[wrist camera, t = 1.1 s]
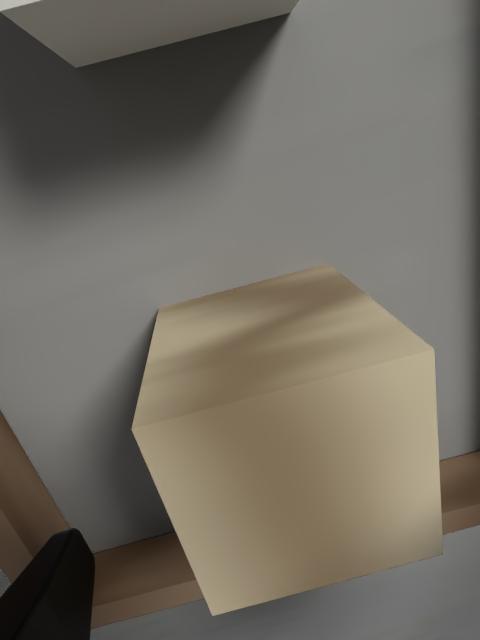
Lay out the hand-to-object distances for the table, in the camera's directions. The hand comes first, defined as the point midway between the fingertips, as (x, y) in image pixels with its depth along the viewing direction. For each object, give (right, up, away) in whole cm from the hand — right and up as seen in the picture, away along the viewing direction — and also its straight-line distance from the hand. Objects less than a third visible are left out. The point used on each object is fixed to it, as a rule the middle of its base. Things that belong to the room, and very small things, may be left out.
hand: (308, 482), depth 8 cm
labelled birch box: (-1, +2, +5) cm, 5 cm away
